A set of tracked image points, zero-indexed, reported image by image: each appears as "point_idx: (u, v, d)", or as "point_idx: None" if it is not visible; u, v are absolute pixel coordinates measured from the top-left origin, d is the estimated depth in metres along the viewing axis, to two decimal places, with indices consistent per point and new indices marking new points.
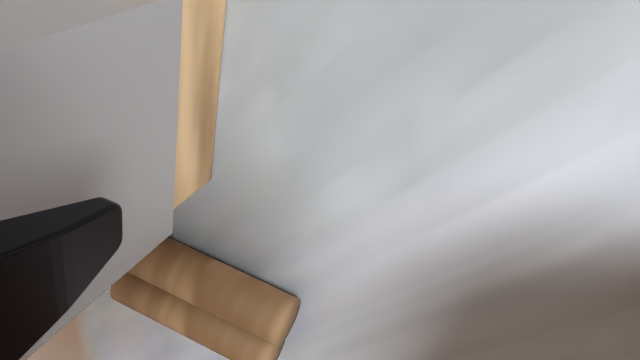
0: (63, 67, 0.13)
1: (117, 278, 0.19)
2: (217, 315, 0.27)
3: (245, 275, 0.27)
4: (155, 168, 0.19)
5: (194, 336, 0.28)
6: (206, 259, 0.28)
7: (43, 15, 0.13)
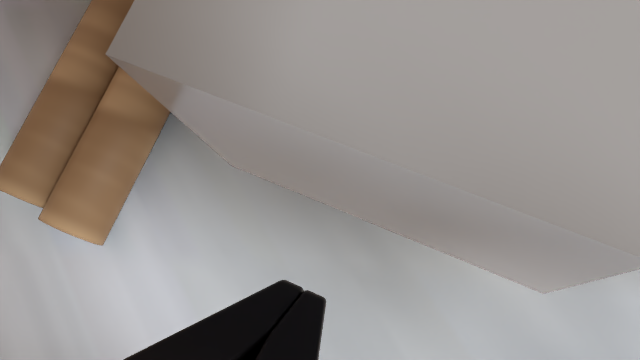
0: (552, 260, 0.10)
1: (195, 132, 0.14)
2: (85, 142, 0.20)
3: (136, 177, 0.22)
4: (336, 202, 0.15)
5: (53, 94, 0.21)
6: (160, 129, 0.22)
7: None
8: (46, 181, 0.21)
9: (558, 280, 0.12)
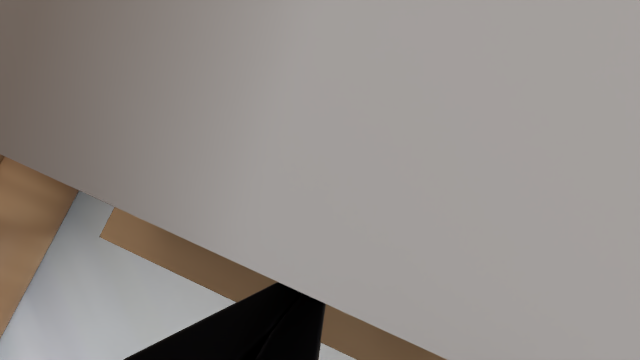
0: None
1: None
2: None
3: (26, 288, 0.18)
4: None
5: None
6: (55, 229, 0.18)
7: None
8: None
9: None
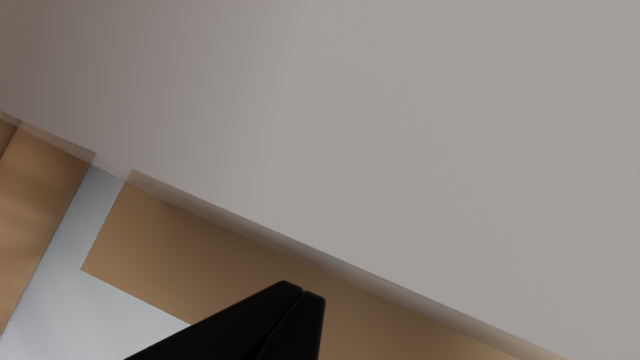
0: None
1: (94, 165, 0.10)
2: None
3: (12, 312, 0.18)
4: (282, 252, 0.11)
5: None
6: (41, 252, 0.18)
7: None
8: None
9: None
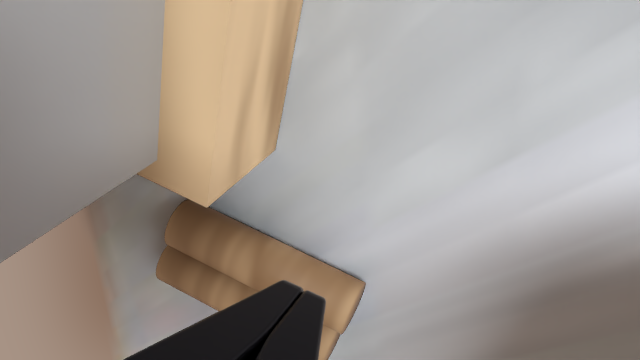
0: None
1: (94, 198, 0.18)
2: None
3: (307, 256, 0.25)
4: (138, 80, 0.17)
5: None
6: (265, 238, 0.25)
7: None
8: None
9: None
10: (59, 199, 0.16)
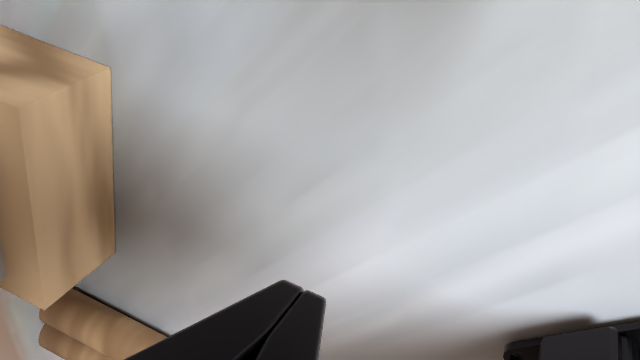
0: None
1: None
2: None
3: (147, 330, 0.33)
4: None
5: None
6: (115, 317, 0.33)
7: None
8: None
9: None
10: None
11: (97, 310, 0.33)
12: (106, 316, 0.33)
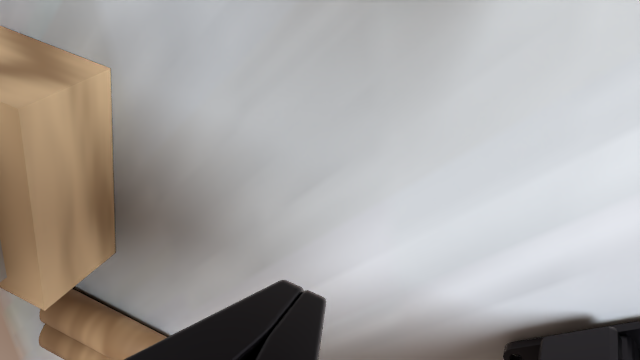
0: None
1: None
2: None
3: (147, 330, 0.33)
4: None
5: None
6: (116, 317, 0.33)
7: None
8: None
9: None
10: None
11: (97, 310, 0.33)
12: (106, 316, 0.33)
